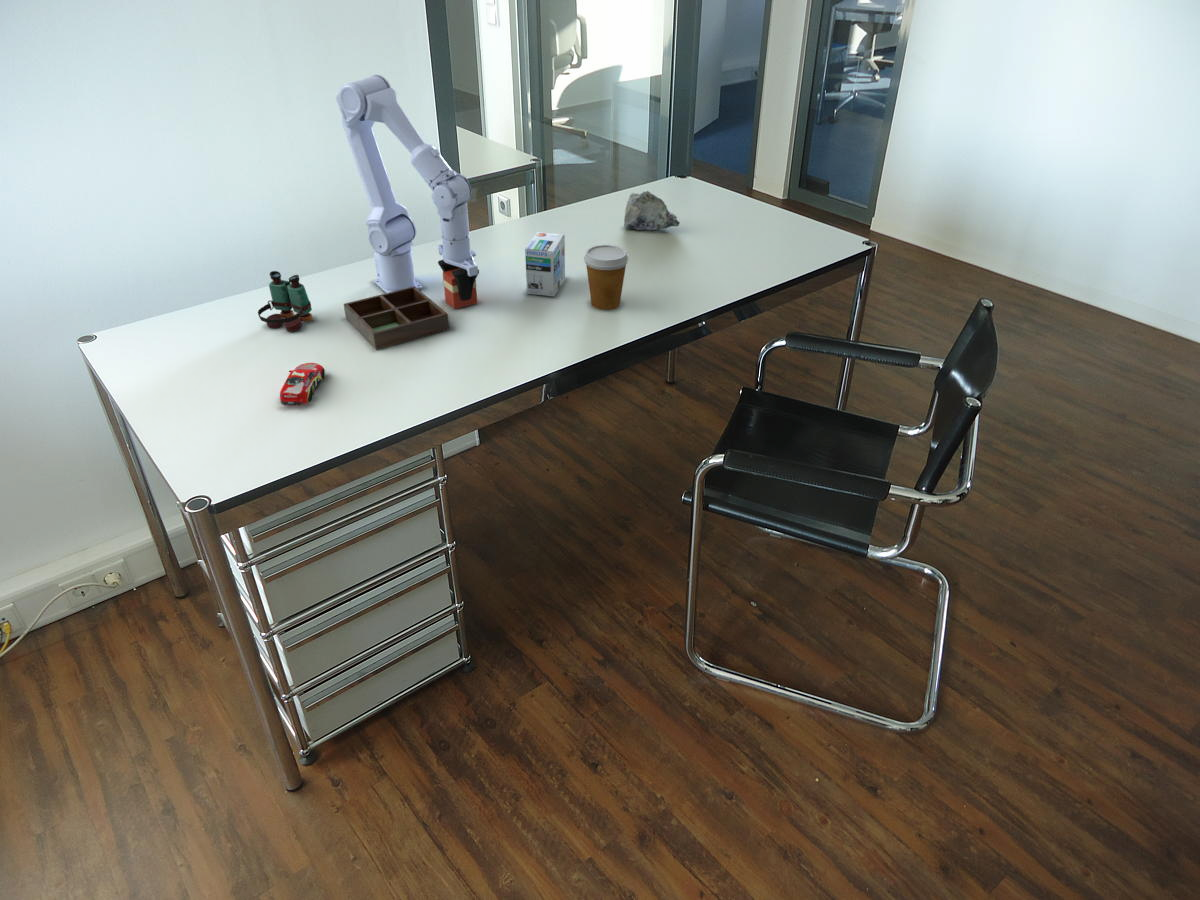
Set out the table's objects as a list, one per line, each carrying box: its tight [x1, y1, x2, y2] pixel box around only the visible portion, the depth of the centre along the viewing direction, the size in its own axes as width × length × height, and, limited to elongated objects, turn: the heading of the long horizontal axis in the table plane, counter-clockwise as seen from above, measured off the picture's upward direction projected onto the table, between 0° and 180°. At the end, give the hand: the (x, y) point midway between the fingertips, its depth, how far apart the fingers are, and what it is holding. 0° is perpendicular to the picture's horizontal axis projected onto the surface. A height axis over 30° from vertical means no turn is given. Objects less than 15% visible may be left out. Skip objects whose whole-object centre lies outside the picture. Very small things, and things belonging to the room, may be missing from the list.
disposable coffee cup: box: [583, 244, 630, 311], centre depth 185 cm, size 10×10×12 cm
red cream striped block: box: [442, 268, 478, 310], centre depth 186 cm, size 4×6×7 cm
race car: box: [279, 362, 326, 406], centre depth 156 cm, size 13×5×4 cm, turn 177°
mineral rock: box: [623, 190, 681, 231], centre depth 222 cm, size 13×11×10 cm
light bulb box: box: [524, 231, 566, 298], centre depth 192 cm, size 11×7×11 cm, turn 168°
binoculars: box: [257, 270, 314, 333], centre depth 175 cm, size 9×11×10 cm
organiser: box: [343, 286, 450, 351], centre depth 178 cm, size 16×16×4 cm
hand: (460, 295), depth 187 cm, fingers closed on red cream striped block, 4 cm apart
